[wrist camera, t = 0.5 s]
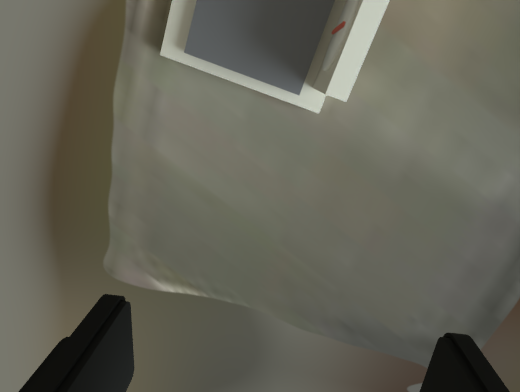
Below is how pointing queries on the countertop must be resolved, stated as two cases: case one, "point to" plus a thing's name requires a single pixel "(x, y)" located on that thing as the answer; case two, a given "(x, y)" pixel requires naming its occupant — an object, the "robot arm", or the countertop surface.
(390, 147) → the countertop surface
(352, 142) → the countertop surface
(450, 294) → the countertop surface
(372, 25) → the kitchen scale
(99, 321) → the robot arm
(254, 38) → the platform
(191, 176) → the countertop surface
